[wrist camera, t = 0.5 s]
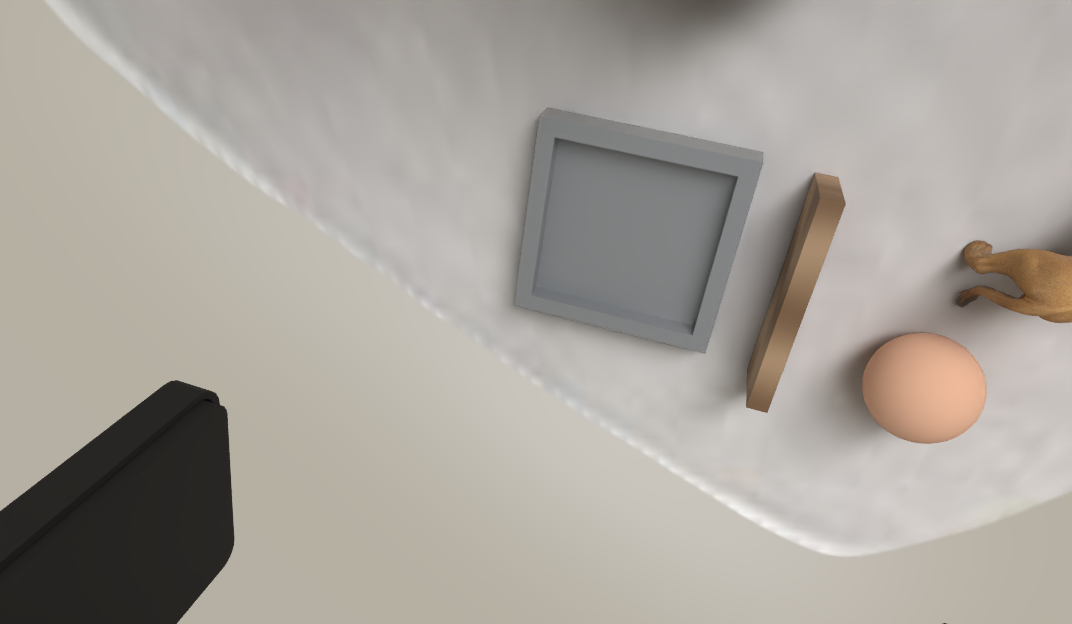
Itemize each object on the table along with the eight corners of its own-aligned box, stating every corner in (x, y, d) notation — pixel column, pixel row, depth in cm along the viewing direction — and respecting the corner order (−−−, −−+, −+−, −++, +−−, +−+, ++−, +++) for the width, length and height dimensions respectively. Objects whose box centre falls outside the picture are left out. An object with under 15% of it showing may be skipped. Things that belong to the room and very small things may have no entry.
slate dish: (547, 107, 41) (539, 115, 40) (763, 152, 39) (763, 162, 38) (521, 292, 48) (513, 305, 46) (707, 338, 46) (705, 353, 44)
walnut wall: (815, 172, 39) (820, 198, 36) (838, 177, 39) (845, 203, 36) (747, 370, 46) (746, 407, 43) (766, 375, 46) (767, 412, 42)
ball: (878, 302, 42) (894, 357, 37) (990, 328, 41) (1022, 389, 36) (841, 386, 45) (852, 448, 40) (945, 412, 44) (969, 479, 39)
